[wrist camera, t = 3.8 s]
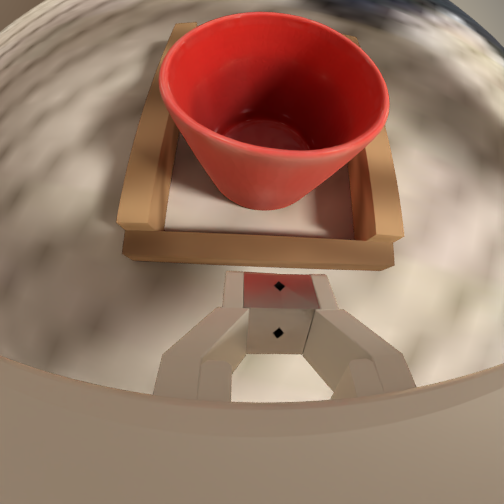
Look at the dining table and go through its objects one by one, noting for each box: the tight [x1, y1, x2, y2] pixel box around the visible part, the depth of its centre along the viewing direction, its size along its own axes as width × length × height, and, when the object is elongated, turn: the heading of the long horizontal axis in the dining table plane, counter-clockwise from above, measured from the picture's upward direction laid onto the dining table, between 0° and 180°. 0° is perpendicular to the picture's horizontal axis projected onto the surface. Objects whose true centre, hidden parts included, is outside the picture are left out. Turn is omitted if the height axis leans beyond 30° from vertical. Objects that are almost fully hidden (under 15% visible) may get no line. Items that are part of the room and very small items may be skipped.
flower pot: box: [158, 12, 390, 210], centre depth 16 cm, size 11×11×10 cm
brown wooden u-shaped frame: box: [116, 22, 404, 271], centre depth 19 cm, size 22×17×4 cm
